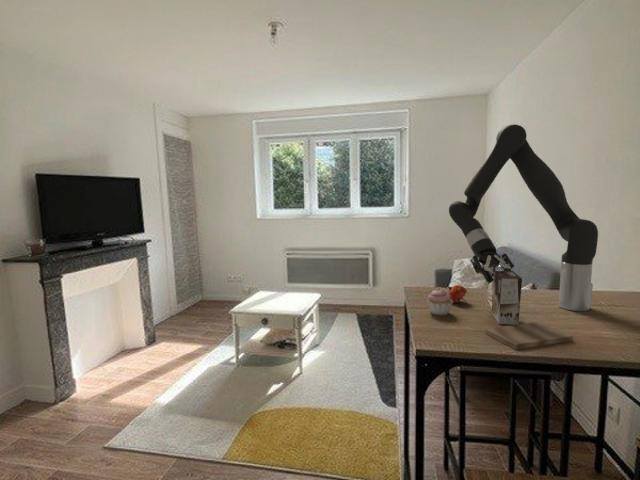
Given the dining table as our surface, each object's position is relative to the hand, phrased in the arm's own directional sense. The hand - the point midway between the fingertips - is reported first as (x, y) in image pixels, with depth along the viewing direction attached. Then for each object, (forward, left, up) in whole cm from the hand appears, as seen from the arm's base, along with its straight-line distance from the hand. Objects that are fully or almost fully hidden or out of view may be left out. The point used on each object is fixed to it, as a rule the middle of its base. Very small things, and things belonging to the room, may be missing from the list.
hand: (502, 280), depth 120 cm
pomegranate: (+3, -20, -14) cm, 24 cm away
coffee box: (0, +2, -13) cm, 13 cm away
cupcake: (+17, -11, -14) cm, 24 cm away
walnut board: (+4, +16, -13) cm, 21 cm away
